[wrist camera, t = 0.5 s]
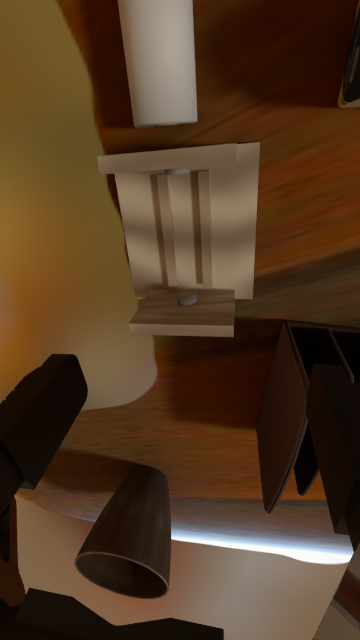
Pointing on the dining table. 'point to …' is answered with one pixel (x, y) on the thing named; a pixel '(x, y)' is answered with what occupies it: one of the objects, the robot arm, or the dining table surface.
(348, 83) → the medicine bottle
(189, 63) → the paper roll
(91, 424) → the dining table surface
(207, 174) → the roll holder
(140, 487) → the plant pot
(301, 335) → the letter holder
